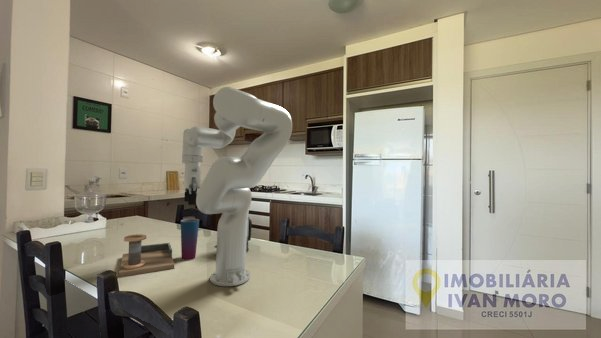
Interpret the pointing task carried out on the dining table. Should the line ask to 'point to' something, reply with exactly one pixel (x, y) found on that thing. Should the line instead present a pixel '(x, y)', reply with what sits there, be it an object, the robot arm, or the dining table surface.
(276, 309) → the dining table surface
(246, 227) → the robot arm
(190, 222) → the cup
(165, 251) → the board
